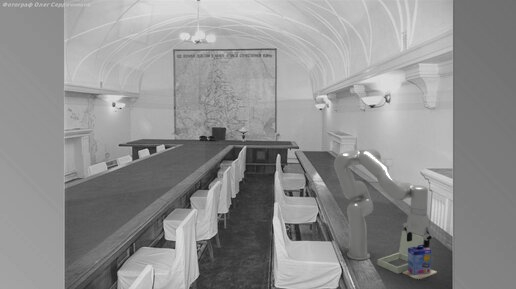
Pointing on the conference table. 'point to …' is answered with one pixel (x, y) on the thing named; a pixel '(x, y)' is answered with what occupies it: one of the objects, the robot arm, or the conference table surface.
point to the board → (419, 274)
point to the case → (401, 253)
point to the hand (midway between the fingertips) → (417, 244)
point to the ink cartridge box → (419, 260)
